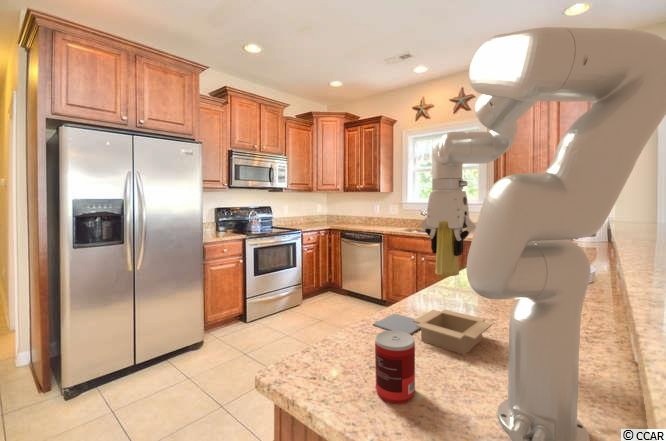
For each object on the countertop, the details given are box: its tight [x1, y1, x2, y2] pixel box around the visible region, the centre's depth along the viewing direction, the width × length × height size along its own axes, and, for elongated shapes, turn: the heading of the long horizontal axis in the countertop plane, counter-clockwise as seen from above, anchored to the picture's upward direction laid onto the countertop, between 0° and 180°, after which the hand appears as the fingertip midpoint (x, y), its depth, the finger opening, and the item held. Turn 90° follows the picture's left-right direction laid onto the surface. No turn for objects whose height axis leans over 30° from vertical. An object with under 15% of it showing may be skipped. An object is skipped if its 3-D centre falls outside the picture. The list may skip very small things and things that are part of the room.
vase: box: [434, 221, 460, 277], centre depth 85 cm, size 6×6×14 cm
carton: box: [413, 309, 493, 356], centre depth 85 cm, size 17×17×5 cm
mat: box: [372, 313, 421, 336], centre depth 97 cm, size 12×12×1 cm
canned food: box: [374, 330, 416, 405], centre depth 63 cm, size 8×8×11 cm
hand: (446, 253), depth 85 cm, fingers closed on vase, 5 cm apart
